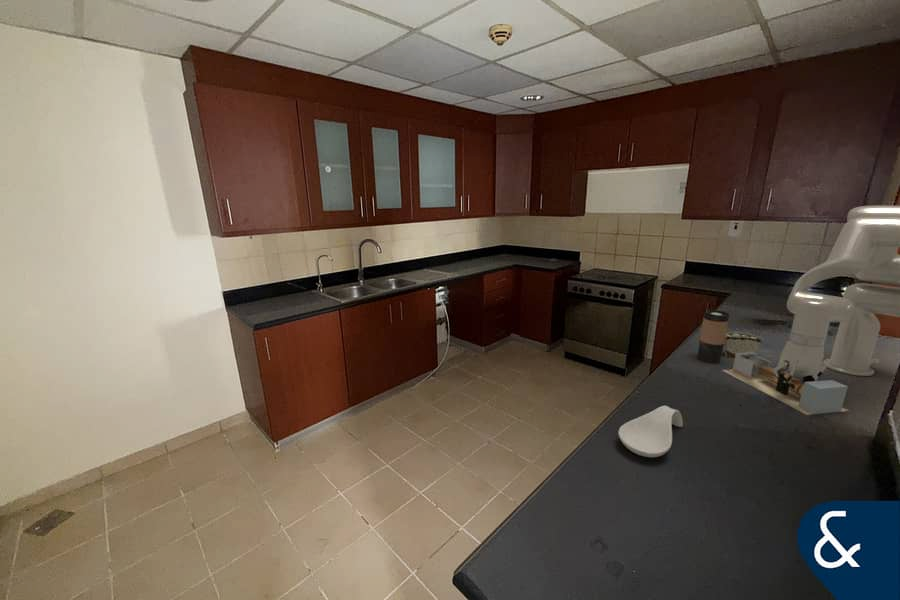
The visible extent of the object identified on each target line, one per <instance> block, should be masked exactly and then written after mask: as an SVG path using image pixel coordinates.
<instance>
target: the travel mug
mask: <svg viewBox="0 0 900 600" xmlns="http://www.w3.org/2000/svg"><path fill="white" fill-rule="evenodd" d="M729 317H730V314H729V312H726V311H723V310H722V311H721V310H716V309H715V310H714V309H708V310H706V311H704V314H703V319H702V324H701V328H700V329H701V330H700V331H701V332H700V336H699V343H698V351H697V359H698V360H699V361H701V362H702V363H707V364H716V365H717V364H720V363H721V359H722V355H723V350H724V348H725V347H724V346H725V342H726V339H725V336H726V333H727V329H728V325H729V324H728V323H729Z"/></svg>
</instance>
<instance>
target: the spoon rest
mask: <svg viewBox="0 0 900 600" xmlns="http://www.w3.org/2000/svg"><path fill="white" fill-rule="evenodd" d="M672 425H673V426H675V427H679V428H682V427H683V425H684V421H683V417H682V414H681V412H680V410H678V409H674V408H671V407H669V406H667V405H662V406H659V407H657V408H655V409H654V410H652V411H650V412H647V413H645V414H644V415H641V416H638V417H637V418H634V419H631V420H629V421H627V422H624V424H622V425H621V426H620V427H619V429H618V431H617V433H618V438H619V440H620V441H621V443H622V444H623V445H624V446H625V447H626V448H627V450H629V451H631V452H632V453H634V454H636V455H638V456H642V457H645V458H658V457H661V456H663V455H665V454H666V453H667V452H668V451H669V450H670V449H671V446H672V443H673V427H672Z"/></svg>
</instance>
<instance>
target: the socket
mask: <svg viewBox="0 0 900 600" xmlns="http://www.w3.org/2000/svg"><path fill="white" fill-rule="evenodd" d="M848 387H849V386H848V385H845V384H843V383H841V382H838V381H835V380H834V379H829V380H818V381H812V382H805V383H804V387H803V391H802V395H801V399H800V403H799V407H800V408H802V409H804V410H806V411H808V412H810V413H812V414H811V415H819V413H821V414H830V412H832V413H838V412H839V413H840V412H841V409H842V407H843V404H844V401H845V400H846V399H845V398H846V394H847V391H848Z"/></svg>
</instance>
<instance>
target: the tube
mask: <svg viewBox="0 0 900 600" xmlns="http://www.w3.org/2000/svg"><path fill="white" fill-rule="evenodd" d="M773 369H774V368H772V367H771V366H770V367H768V366H762V367H761V368H760V369H759V371H758V374H759V376H761V377H763V378H765V379H767V380H769V381H771V382H774V383H776V384H777V382H778V379H777V377H776V376H775V373H774V371H773ZM787 376H788V375H786V374H785V375H784V377H785V378H786V377H787ZM802 381H803V380H802ZM802 381H801V380H799V379H798V378H795V377H793V378H792V379H791V380H790V381H789V382H788V383H790V386H789V390H790V391H792V392H794V393H796V394H798V395H800V396H801V395H802V391H803V387H804V382H802Z"/></svg>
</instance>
